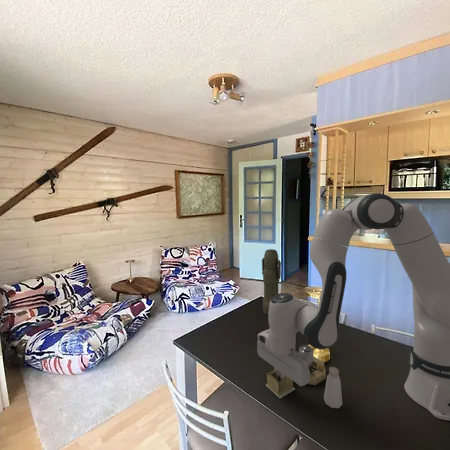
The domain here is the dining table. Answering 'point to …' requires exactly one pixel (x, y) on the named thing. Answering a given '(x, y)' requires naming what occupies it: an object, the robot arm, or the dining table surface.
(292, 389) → the pad
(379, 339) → the dining table surface
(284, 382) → the octagonal ring with loop
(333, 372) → the salt shaker
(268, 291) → the thermos
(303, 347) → the stud
